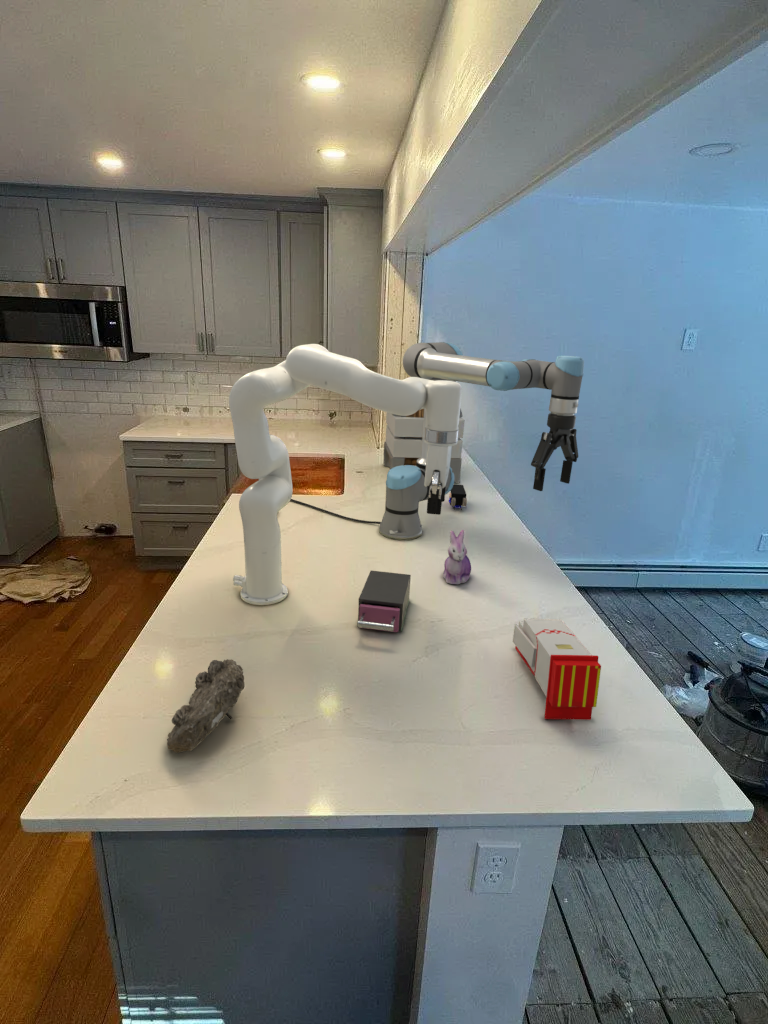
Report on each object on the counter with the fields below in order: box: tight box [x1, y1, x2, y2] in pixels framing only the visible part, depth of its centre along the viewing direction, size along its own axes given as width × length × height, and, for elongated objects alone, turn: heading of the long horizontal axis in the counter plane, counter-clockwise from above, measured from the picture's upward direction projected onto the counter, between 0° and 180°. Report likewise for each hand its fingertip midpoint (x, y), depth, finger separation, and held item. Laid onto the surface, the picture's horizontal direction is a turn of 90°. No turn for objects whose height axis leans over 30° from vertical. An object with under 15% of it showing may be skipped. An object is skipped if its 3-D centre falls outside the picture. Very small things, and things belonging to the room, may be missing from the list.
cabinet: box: [357, 570, 412, 633], centre depth 146 cm, size 16×11×8 cm
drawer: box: [356, 603, 400, 633], centre depth 142 cm, size 21×10×6 cm, turn 171°
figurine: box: [442, 529, 472, 585], centre depth 166 cm, size 9×10×15 cm
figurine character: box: [448, 483, 468, 511], centre depth 230 cm, size 7×8×15 cm
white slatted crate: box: [383, 407, 465, 484], centre depth 268 cm, size 34×33×41 cm
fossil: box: [166, 658, 245, 754], centre depth 106 cm, size 22×10×15 cm
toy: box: [512, 618, 602, 721], centre depth 123 cm, size 12×13×30 cm
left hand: (435, 507), depth 135 cm, fingers open, 9 cm apart
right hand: (551, 486), depth 165 cm, fingers open, 13 cm apart
